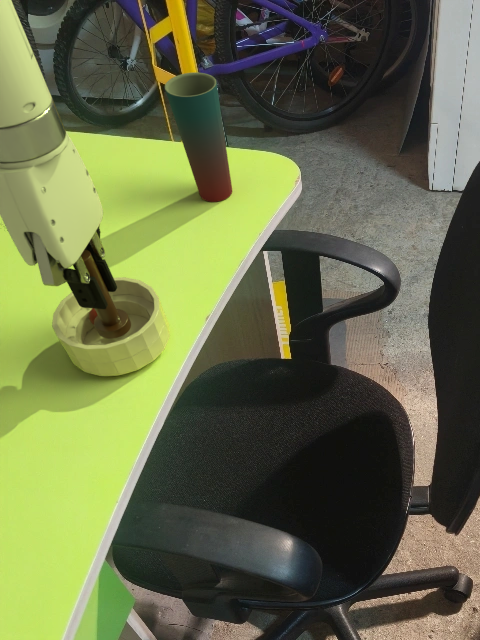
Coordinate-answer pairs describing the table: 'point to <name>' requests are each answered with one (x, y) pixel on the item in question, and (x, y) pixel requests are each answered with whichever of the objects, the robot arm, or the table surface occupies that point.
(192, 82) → the cup
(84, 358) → the bowl
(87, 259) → the masher
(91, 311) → the red ball
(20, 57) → the robot arm
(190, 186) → the table surface
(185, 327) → the table surface
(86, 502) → the table surface
